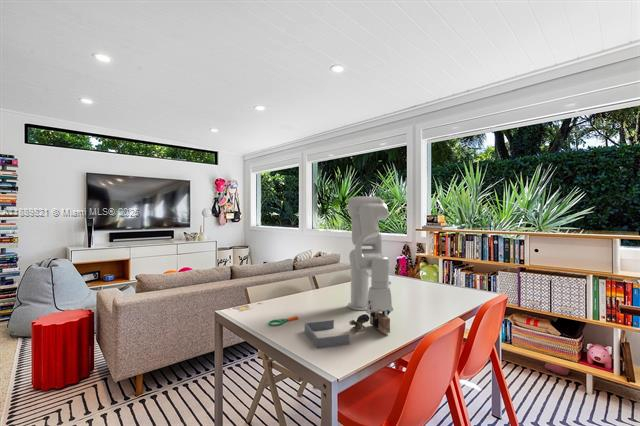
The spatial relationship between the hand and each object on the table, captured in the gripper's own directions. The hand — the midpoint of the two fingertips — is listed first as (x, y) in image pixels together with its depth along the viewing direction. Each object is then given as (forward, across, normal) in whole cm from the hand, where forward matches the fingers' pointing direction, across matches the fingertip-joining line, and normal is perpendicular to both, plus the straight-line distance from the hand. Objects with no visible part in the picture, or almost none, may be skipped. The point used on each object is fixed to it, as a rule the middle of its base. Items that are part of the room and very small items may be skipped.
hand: (379, 326), depth 136 cm
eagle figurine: (+2, +8, -3) cm, 9 cm away
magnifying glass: (+2, +38, -23) cm, 44 cm away
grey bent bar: (+2, +25, 0) cm, 25 cm away
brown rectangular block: (+1, 0, 0) cm, 1 cm away
